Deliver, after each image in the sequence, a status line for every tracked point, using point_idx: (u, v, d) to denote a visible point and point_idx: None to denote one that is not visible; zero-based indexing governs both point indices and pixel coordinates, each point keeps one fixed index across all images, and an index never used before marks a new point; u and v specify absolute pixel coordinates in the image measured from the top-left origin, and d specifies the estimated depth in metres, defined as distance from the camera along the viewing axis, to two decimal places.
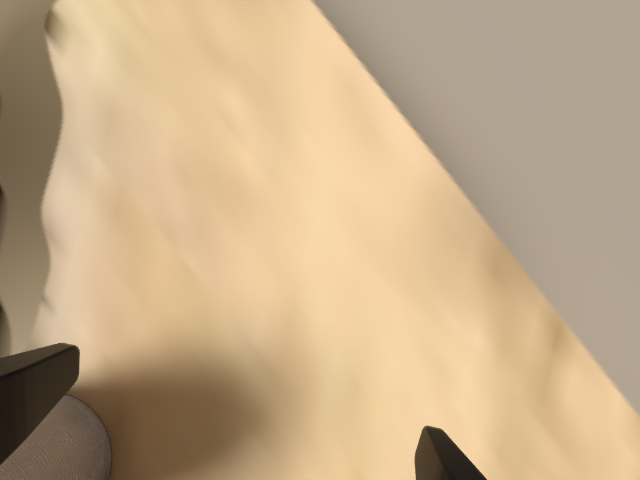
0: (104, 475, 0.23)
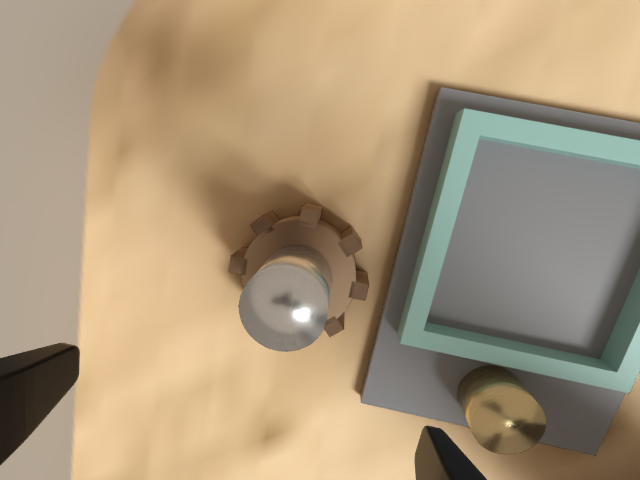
0: None
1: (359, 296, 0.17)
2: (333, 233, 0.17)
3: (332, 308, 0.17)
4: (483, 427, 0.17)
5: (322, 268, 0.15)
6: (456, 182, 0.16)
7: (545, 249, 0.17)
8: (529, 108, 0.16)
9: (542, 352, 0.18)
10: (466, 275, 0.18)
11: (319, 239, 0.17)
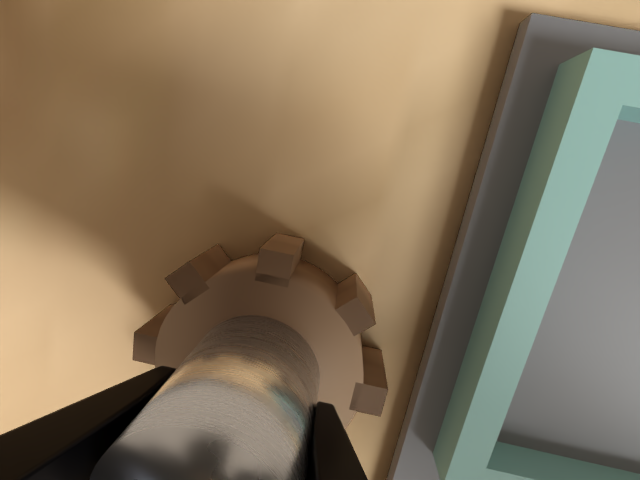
0: None
1: (369, 409, 0.09)
2: (321, 295, 0.09)
3: None
4: None
5: (295, 380, 0.07)
6: (565, 201, 0.08)
7: None
8: None
9: None
10: (560, 363, 0.10)
11: (294, 307, 0.09)
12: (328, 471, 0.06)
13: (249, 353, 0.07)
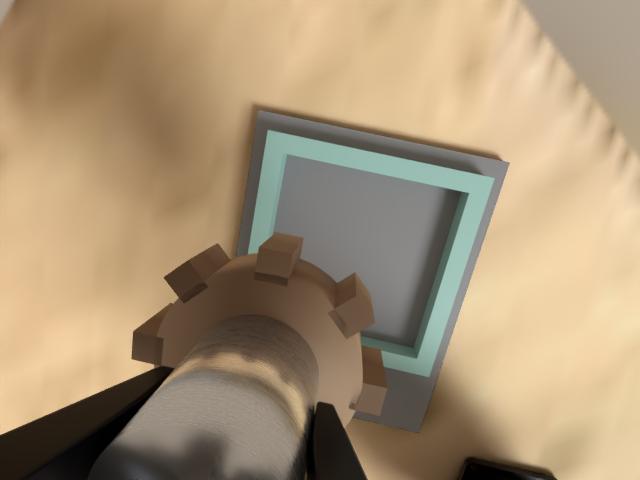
0: None
1: (369, 408, 0.09)
2: (320, 294, 0.09)
3: None
4: None
5: (294, 379, 0.07)
6: (267, 193, 0.18)
7: (358, 251, 0.20)
8: (332, 129, 0.18)
9: None
10: None
11: (294, 306, 0.09)
12: (328, 471, 0.06)
13: (248, 352, 0.07)
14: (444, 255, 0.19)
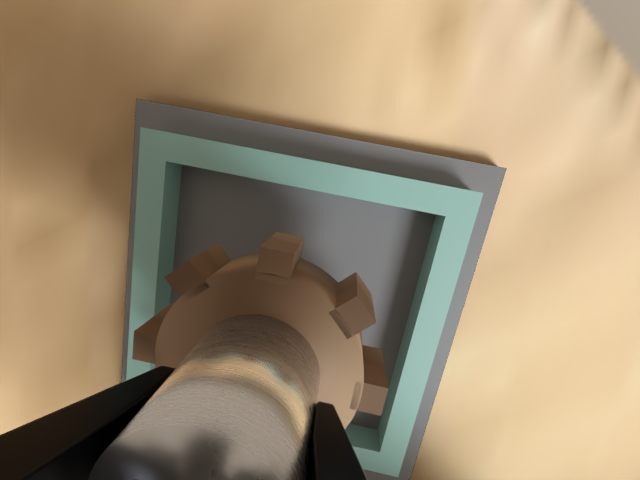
0: None
1: (370, 408, 0.09)
2: (321, 294, 0.09)
3: None
4: None
5: (296, 379, 0.07)
6: (149, 220, 0.12)
7: None
8: (244, 125, 0.12)
9: None
10: None
11: (295, 306, 0.09)
12: (328, 471, 0.06)
13: (249, 352, 0.07)
14: (414, 305, 0.13)
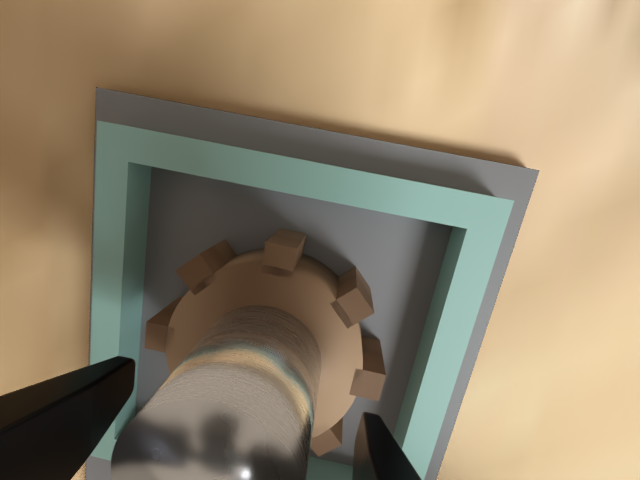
0: None
1: (368, 393, 0.10)
2: (323, 286, 0.09)
3: (322, 411, 0.10)
4: None
5: (299, 363, 0.08)
6: (110, 232, 0.10)
7: None
8: (224, 118, 0.10)
9: None
10: None
11: (298, 297, 0.09)
12: None
13: (256, 338, 0.08)
14: (427, 332, 0.11)
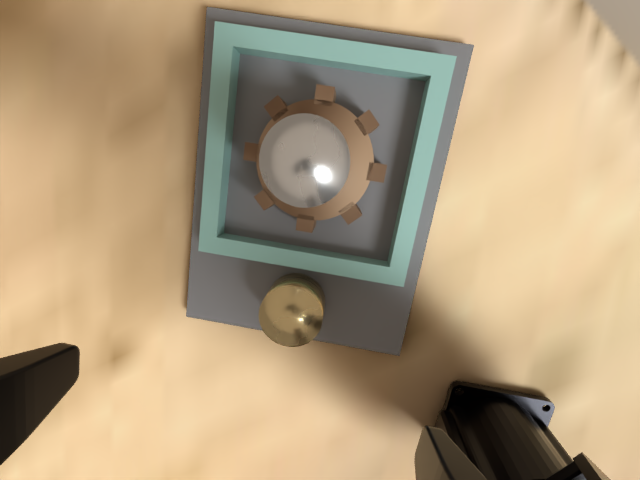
0: None
1: (377, 178, 0.17)
2: (349, 111, 0.16)
3: (350, 193, 0.17)
4: (269, 321, 0.19)
5: None
6: (220, 92, 0.17)
7: None
8: (285, 22, 0.17)
9: (328, 254, 0.19)
10: (258, 186, 0.19)
11: (335, 118, 0.16)
12: None
13: None
14: (411, 152, 0.18)
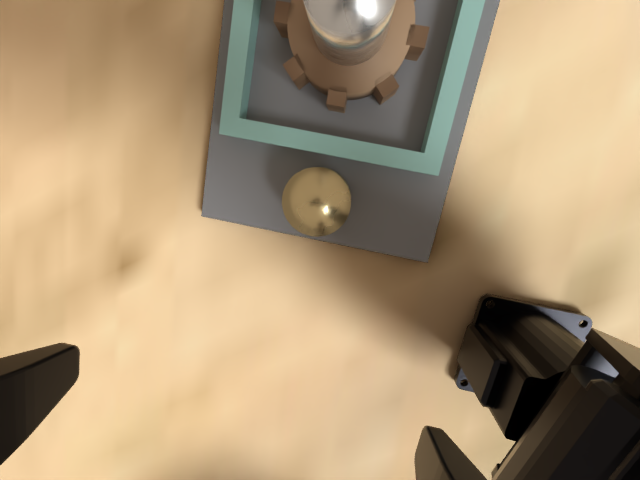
0: None
1: (418, 42, 0.16)
2: None
3: (387, 60, 0.16)
4: (293, 207, 0.17)
5: None
6: None
7: None
8: None
9: None
10: None
11: None
12: None
13: None
14: (453, 25, 0.17)
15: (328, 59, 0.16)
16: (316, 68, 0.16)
